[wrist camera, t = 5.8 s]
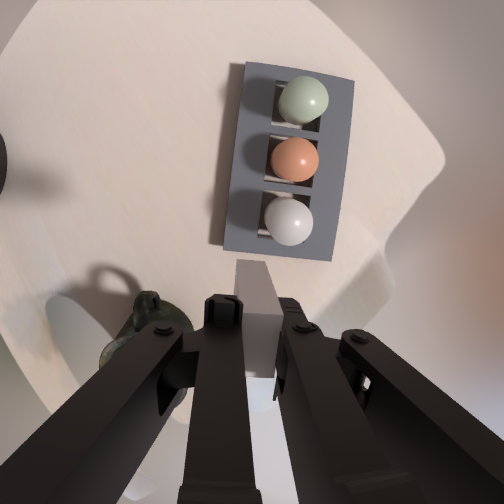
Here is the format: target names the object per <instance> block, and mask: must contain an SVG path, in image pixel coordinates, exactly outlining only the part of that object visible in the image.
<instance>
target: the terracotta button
mask: <svg viewBox="0 0 504 504" xmlns="http://www.w3.org/2000/svg"><path fill="white" fill-rule="evenodd" d="M318 164H319V156H318V153H317V150H316V148H315V147H314V146H313V144H312V143H310V142H309V141H308V140H306V139H303V138H299V137H293V138H289V139H286V140H285V141H283V142H281V143H280V144H278V145H277V146H276V147H275V148H274V149H273V151H272V153H271V155H270V165H271V168H272V170H273V172H274V173H275V174H276V175H277V176H278V177H280V178H281V179H284V180H289V181H294V182H300V181H304V180H307V179H309V178H310V177H311V176H312V175H313V174H314V173H315V172H316V170H317V167H318Z"/></svg>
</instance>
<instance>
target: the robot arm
mask: <svg viewBox="0 0 504 504" xmlns="http://www.w3.org/2000/svg"><path fill="white" fill-rule="evenodd" d="M6 171H7V153H6V147H5V143H4V140H3V137H2V135H1V134H0V194H1V192H2V189H3V186H4V182H5V178H6ZM275 367H276V371H277V378H276V384H275V389H274V395H273V401H276V397H277V396H278V401H279V406H280V411H281V416H282V421H283V426H284V431H285V436H286V441H287V446H288V451H289V456H290V461H291V466H292V471H293V476H294V481H295V485H296V491H297V495H298V501H299V504H504V441H503V440H502V439H501V438H499V437H498V436H497V435H496V434H495V433H494V432H492V431H491V430H490V429H489V428H487V427H486V426H485V425H484V424H482V423H481V422H480V421H479V420H477V419H476V418H475V417H474V416H472V414H470V413H469V412H468V411H467V410H465V409H464V408H463V407H462V406H461V405H459V404H458V403H457V402H456V401H454V400H453V399H452V398H451V397H449V396H448V395H447V394H446V393H444V392H443V391H442V390H441V389H439V388H438V387H437V386H436V385H434V384H433V383H432V382H431V381H430V380H428V379H427V378H426V377H425V376H423V375H422V374H421V373H420V372H418V371H417V370H416V369H415V368H414V367H412V366H411V365H410V364H408V363H407V362H406V361H405V360H404V359H402V358H401V357H400V356H398V355H397V354H396V353H394V351H392V350H391V349H390V348H389V347H387V346H386V345H385V344H384V343H382V342H381V341H380V340H379V339H377V338H376V337H375V336H374V335H372V334H370V333H369V332H366V331H364V330H361V329H360V330H359V329H350V330H346V331H344V332H343V333H342V336H341V340H339V339H333V338H328V337H324V335H323V333H322V331H321V329H320V328H319V327H318V326H317V325H316V324H314V323H311V322H308V320H307V318H306V316H305V314H304V313H303V310H302V309H301V306H300V304H299V302H297V301H296V300H294V299H293V298H283V297H277V294H276V291H275V289H274V286H273V283H272V280H271V277H270V274H269V272H268V269H267V266H266V263H265V261H254V260H241V259H237V263H236V275H235V287H234V295H223V294H214V295H213V296H211V297H210V298H207V299H206V301H205V310H204V326H203V328H201V329H199V330H197V331H193V332H185V333H183V329H182V327H181V326H180V325H179V324H177V323H174V322H171V321H166V320H162V321H161V320H159V321H155V322H151V323H149V324H148V325H146V326H145V327H144V328H143V329H142V330H141V331H140V332H138V333H137V334H136V335H135V336H134V337H133V338H132V339H131V340H130V341H129V342H128V343H127V344H126V345H125V346H124V347H123V348H121V349H120V350H119V351H118V352H117V353H116V354H115V355H114V356H113V357H112V358H111V359H110V360H109V361H108V362H107V363H106V364H105V365H104V366H102V367H101V368H100V369H99V370H98V371H97V372H96V373H95V374H94V375H93V376H92V377H91V378H90V379H89V380H88V381H87V382H86V383H85V384H84V385H83V386H82V387H80V388H79V389H78V390H77V391H76V392H75V393H74V394H73V395H72V396H71V397H70V398H69V399H68V400H67V401H66V402H65V403H64V404H63V405H62V406H61V407H60V408H59V409H58V410H57V411H56V412H55V413H54V414H53V415H52V416H50V417H49V418H48V419H47V420H46V421H45V422H44V423H43V425H41V426H40V428H38V429H37V430H36V431H35V432H34V433H33V434H32V435H31V436H30V437H29V438H28V439H27V440H26V441H25V442H24V443H23V444H22V445H21V446H20V447H19V448H18V449H17V450H16V451H15V452H14V453H13V454H12V455H11V456H10V457H9V458H8V459H7V460H6V461H5V462H4V463H3V464H2V465H1V466H0V504H116V503H117V501H118V500H119V498H120V497H121V495H122V493H123V492H124V490H125V488H126V487H127V485H128V484H129V482H130V480H131V479H132V477H133V475H134V474H135V472H136V471H137V469H138V467H139V466H140V464H141V462H142V461H143V459H144V457H145V456H146V454H147V453H148V451H149V449H150V448H151V446H152V444H153V443H154V441H155V439H156V438H157V436H158V434H159V433H160V431H161V430H162V428H163V426H164V425H165V423H166V421H167V419H168V418H169V416H170V415H171V413H172V411H173V410H174V408H175V406H176V405H177V403H178V401H179V400H180V398H181V396H182V395H183V391H184V388H191V387H194V395H193V402H192V410H191V418H190V425H189V434H188V442H187V450H186V459H185V469H184V477H183V484H182V486H180V488H179V493H178V500H177V504H263V503H262V498H261V493H260V490H258V489H256V485H255V476H254V466H253V454H252V443H251V432H250V422H249V410H248V398H247V386H246V377H259V378H274V374H275ZM366 377H367V378H369V380H370V381H371V383H370V386H369V388H368V389H366V388H365V387H364V386H363V385H364V382H365V378H366Z"/></svg>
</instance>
